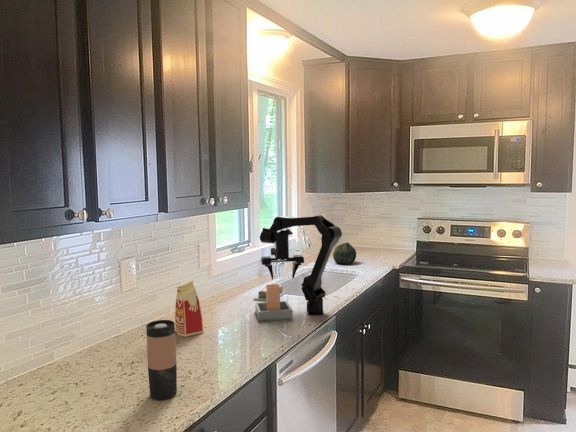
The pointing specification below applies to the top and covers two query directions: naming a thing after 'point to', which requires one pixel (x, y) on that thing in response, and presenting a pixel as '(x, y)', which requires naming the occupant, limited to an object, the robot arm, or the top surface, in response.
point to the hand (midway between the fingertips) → (282, 278)
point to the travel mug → (161, 359)
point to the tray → (273, 312)
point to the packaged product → (263, 295)
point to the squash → (344, 254)
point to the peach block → (273, 297)
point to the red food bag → (188, 311)
